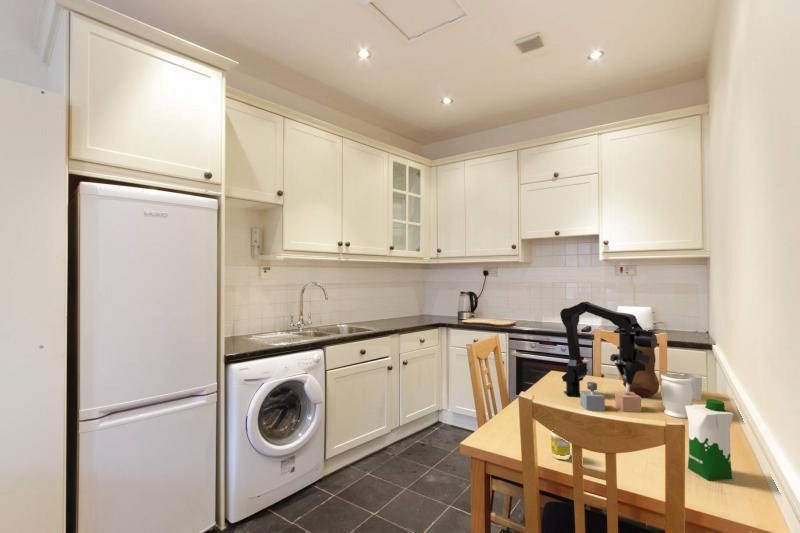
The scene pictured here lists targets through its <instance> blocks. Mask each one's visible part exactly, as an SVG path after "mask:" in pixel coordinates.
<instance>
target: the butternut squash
mask: <svg viewBox="0 0 800 533" xmlns="http://www.w3.org/2000/svg"><path fill="white" fill-rule="evenodd" d="M635 348H637V349H638V350H641V351H643V354H645V355H648V356H650V357H651V359H650V362H649V364H647V363H645V362H642V361H640V360H639V362H642V363H644V364H645V365H646V371H638V372H636V374H635V376H634V379H633V382H632V384H631V385H629V392H634V393H635V394H637V395H638V396H640V397H641V398H649V397H651V396H654V395H656V394H657V393H658V391H659V389H660V382H659V379H658V376H657V374H656V371H655V367H656V360H657V359H656V352H655V351H656V350H655V349H653V348H645V347H639V346H637V345H636V344H635ZM622 385H623V386H624V388H626V382H624V381H622Z"/></svg>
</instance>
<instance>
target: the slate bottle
mask: <svg viewBox="0 0 800 533" xmlns="http://www.w3.org/2000/svg"><path fill="white" fill-rule="evenodd" d="M580 394H581V397H580V406H581V407H582V408H583V409H584V410H585V411H586V410H589V411H588V412H605V411H606V410H605V409H606V408H605V407H606V406H605V404H606V402H605V401H606V399H605V395H603V394H602V393H601V392H600V391H598V390H594V394H591V390H580Z"/></svg>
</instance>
